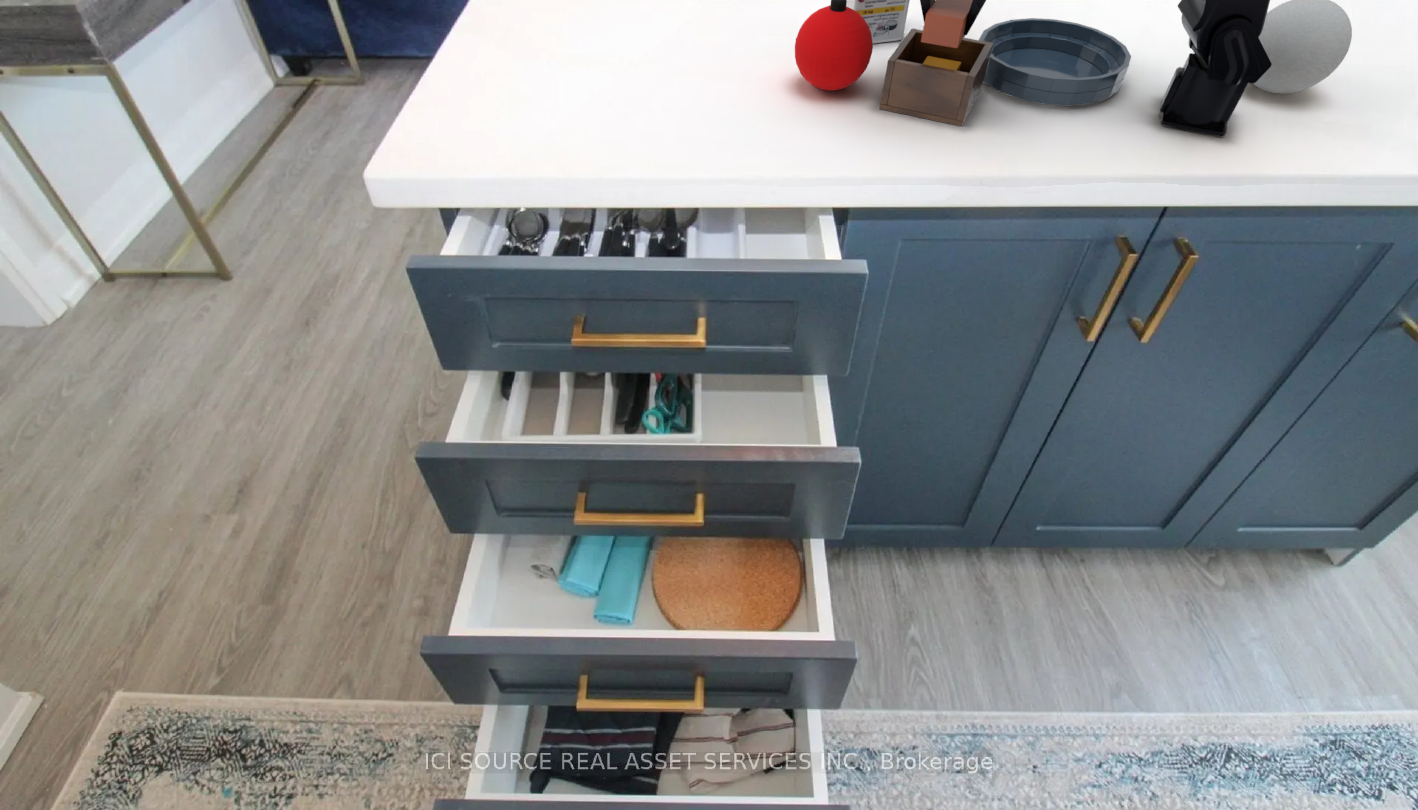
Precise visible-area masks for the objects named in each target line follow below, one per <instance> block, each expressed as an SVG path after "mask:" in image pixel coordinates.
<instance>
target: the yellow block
mask: <svg viewBox="0 0 1418 810" xmlns="http://www.w3.org/2000/svg"><path fill="white" fill-rule="evenodd" d="M923 64H925V65H930V66H935V67H940V68H946V69H951V70H956V71H959V70H960V66H961V62H958V61H953V60H947V59H942V58H937V57H931V56H927V58H926V59H925V61H924V62H923Z"/></svg>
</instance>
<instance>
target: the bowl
mask: <svg viewBox="0 0 1418 810" xmlns="http://www.w3.org/2000/svg"><path fill="white" fill-rule="evenodd" d="M978 40H980V41H985V42H991V43H993V47H992V51H991V55H990V58H989V62H988V66H987V69H986V73H985V77H984V81H983V84H986V85H987V86H989V87H990V88H992V89H994V90H996V92H997V91H998V92H999V93H1001V94H1004V95H1006V96H1010V97H1013V98H1016V99H1019V100H1022V101H1027V102H1031V103H1036V104H1041V105H1051V106H1067V107H1069V106H1070V107H1071V106H1082V105H1092V104H1096V103H1098V102H1103V101H1105V100H1108V99H1109V98H1111V97H1113V95H1115V94H1116V93H1117V92H1119V90H1120V88H1121V86H1122V84H1123V82H1124V79H1125V77H1126V74H1127V72H1128V69H1129V67H1130V63H1131V59H1132V54H1130V51H1129V49H1128V47H1127V46H1126V45H1125V44H1123V43H1122V42H1121V41H1119V40H1118V39H1117V38H1116V37H1114V36H1113V35H1111V34H1108V33H1106V32H1104V31H1102V30H1100V29H1097V28H1094V27H1091V26H1089V25H1084V24H1080V23H1078V22H1074V21H1073V22H1072V21H1066V20H1061V19H1056V18H1055V19H1054V18H1035V17H1034V18H1033V17H1030V18H1029V17H1028V18H1017V19H1016V18H1015V19H1010V20H1006V21H1001V22H997V23H994V24H993V25H991V26H989V27H988V28H986V29H984V30H983V31H982V33H981V35H980V36H979V38H978Z"/></svg>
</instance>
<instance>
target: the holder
mask: <svg viewBox="0 0 1418 810" xmlns="http://www.w3.org/2000/svg"><path fill="white" fill-rule="evenodd" d="M922 33H923V29H916V28H911V29H910V30H909V31H908V33H907V34H906V36H905V37H903V39H902V40H901V42H900V44H899V45H898V46H897V47H896V49H895V50H894V52H892V54H891V56H890V57H889V58H888V59H887V63H886V70H885V74H884V75H885V76H884V82H883V86H882V92H881V97H880V98H881V99H880V103H879V110H884V111H887V112H892V113H897V114H902V115H906V116H911V117H916V118H921V119H925V120H930V121H934V122H939V123H944V124H948V125H952V126H953V125H954V126H958V127H963V125H964V123H965V122H966V119H967V118H968V116H969V115H970V112H971V111H972V108H973V106H974V105H975V103H976V100H977V98H978V97H979V95H980V93H981V91H982V87H983V84H984V82H983V81H984V77H985V73H986V69H987V66H988V62H989V58H990V55H991V51H992V47H993V43H991V42H985V41H980V40H979V39H973V38H968V37H964V38H963V40H962V41H961V43H960V45H959V46H958V48H952V47H946V46H941V45H935V44H929V43H923V42H921V38H922ZM927 56H931V57H937V58H942V59H947V60H953V61H958V62H961V66H960V70H959V71H956V70H951V69H946V68H940V67H935V66H930V65H925V64H923V62H924V61H925V59H926V58H927Z"/></svg>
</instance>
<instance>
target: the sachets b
mask: <svg viewBox="0 0 1418 810" xmlns="http://www.w3.org/2000/svg"><path fill="white" fill-rule="evenodd" d="M972 1H973V0H935V2H934V4H933V5H932V6H931V8H930V9H929V10H928V12H927V13H926V18H925V23H924V22H923V28H922V30H923V33H922V38H921V42H923V43H929V44H935V45H941V46H946V47H952V48H958V46H959V45H960V43H961V41H962V40H963V38H965V37H966V35H964V30H965V24H966V19H967V16H968V13H969V10H970V7H971V4H972Z"/></svg>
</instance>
